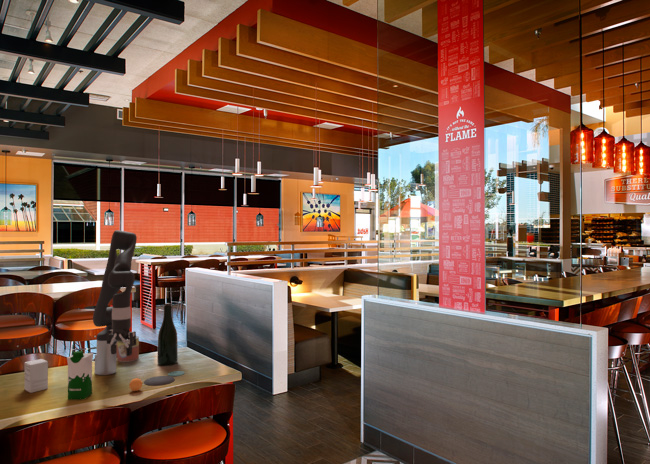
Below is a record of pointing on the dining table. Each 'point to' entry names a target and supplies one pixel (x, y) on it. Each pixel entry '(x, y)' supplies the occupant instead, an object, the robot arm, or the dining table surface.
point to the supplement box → (36, 375)
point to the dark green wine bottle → (167, 339)
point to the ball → (135, 384)
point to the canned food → (122, 351)
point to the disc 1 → (159, 380)
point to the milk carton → (79, 375)
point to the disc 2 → (176, 373)
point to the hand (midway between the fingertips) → (121, 354)
